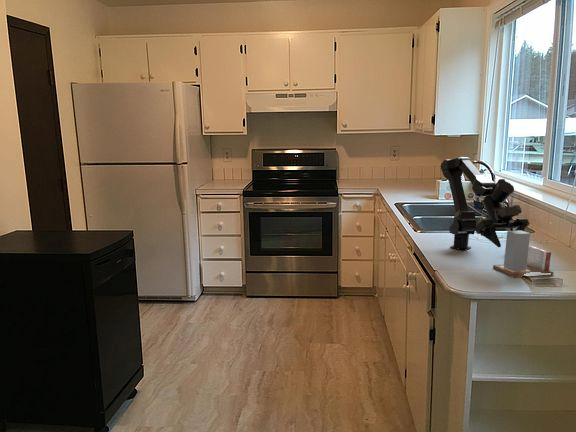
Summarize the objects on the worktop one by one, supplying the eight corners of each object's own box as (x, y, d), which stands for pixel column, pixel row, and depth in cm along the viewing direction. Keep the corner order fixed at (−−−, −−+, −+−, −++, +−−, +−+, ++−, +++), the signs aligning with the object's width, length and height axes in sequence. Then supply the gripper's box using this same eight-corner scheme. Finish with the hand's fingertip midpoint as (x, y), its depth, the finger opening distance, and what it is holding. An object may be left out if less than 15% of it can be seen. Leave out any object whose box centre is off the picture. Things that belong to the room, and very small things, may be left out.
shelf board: (513, 277, 158) (516, 254, 156) (493, 268, 168) (495, 246, 167) (553, 275, 161) (556, 252, 160) (530, 265, 172) (532, 244, 170)
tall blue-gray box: (503, 267, 166) (507, 231, 163) (517, 266, 167) (521, 230, 164) (512, 270, 161) (516, 233, 159) (526, 269, 162) (530, 233, 160)
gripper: (483, 197, 165) (500, 235, 157) (529, 196, 169) (548, 233, 161) (468, 215, 174) (483, 251, 166) (512, 213, 178) (529, 249, 170)
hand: (511, 246), depth 165 cm, fingers open, 9 cm apart
